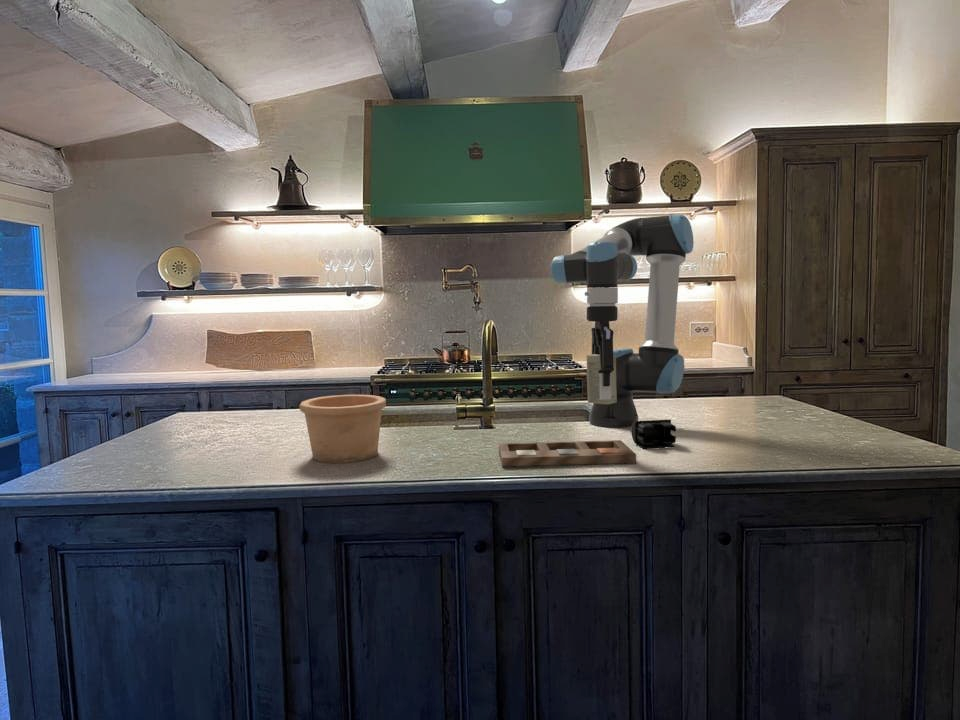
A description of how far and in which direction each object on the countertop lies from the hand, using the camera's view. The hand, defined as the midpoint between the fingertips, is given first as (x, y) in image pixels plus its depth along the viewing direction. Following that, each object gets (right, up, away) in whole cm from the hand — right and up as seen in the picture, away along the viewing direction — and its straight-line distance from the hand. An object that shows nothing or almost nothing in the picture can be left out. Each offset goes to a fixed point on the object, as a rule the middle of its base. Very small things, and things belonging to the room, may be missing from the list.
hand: (602, 396), depth 161 cm
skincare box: (0, -2, 0) cm, 2 cm away
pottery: (-66, -16, +6) cm, 68 cm away
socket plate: (-10, -15, -1) cm, 18 cm away
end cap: (+16, -14, +10) cm, 23 cm away
